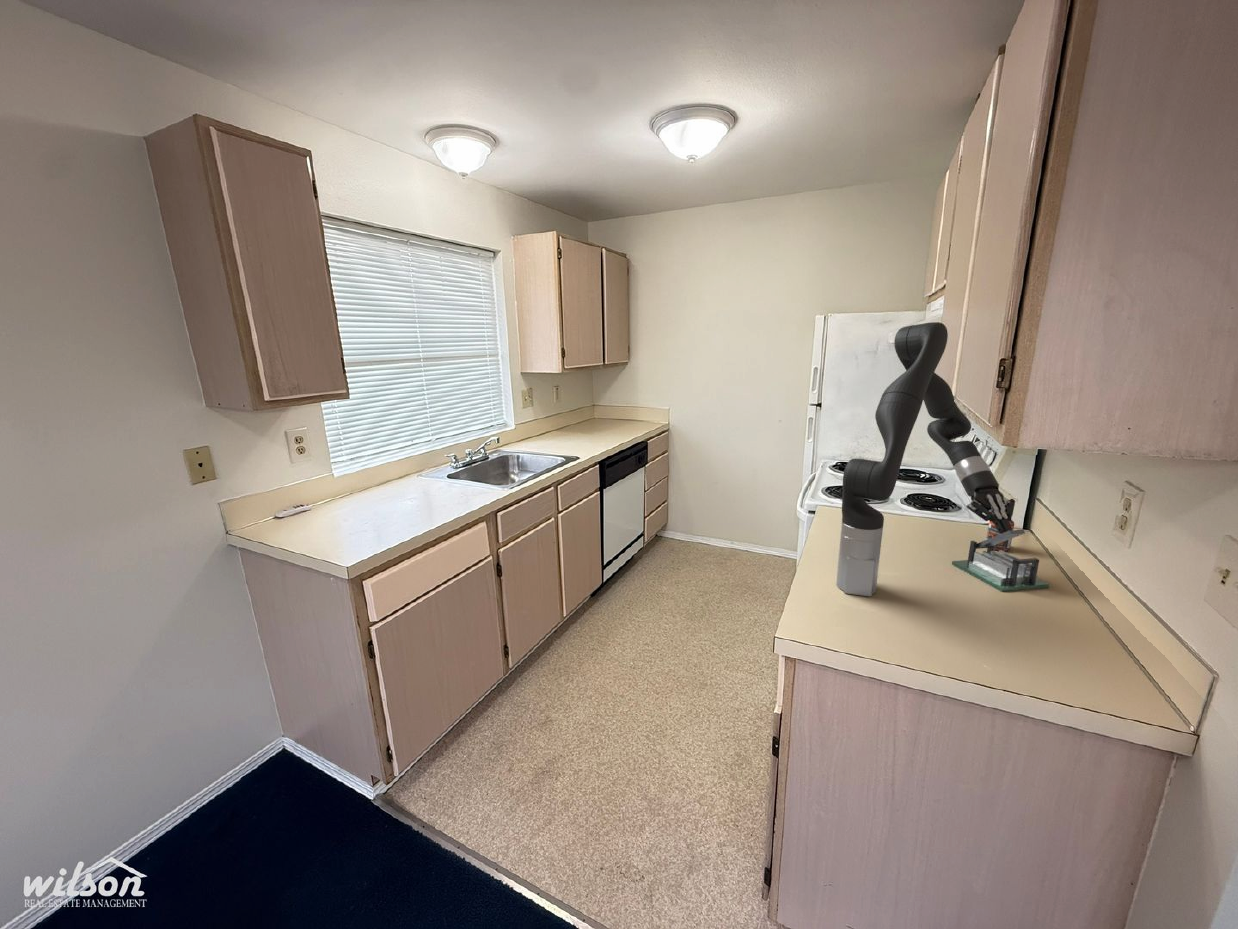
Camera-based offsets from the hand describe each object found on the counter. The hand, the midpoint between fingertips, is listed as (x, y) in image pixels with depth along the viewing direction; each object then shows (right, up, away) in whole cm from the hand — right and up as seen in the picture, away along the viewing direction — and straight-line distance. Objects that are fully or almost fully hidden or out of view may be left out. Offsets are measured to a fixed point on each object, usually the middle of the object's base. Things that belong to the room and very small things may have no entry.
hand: (1007, 534), depth 127 cm
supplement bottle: (+13, -7, +21) cm, 26 cm away
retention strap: (-1, -4, +8) cm, 9 cm away
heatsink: (0, -11, +4) cm, 12 cm away
